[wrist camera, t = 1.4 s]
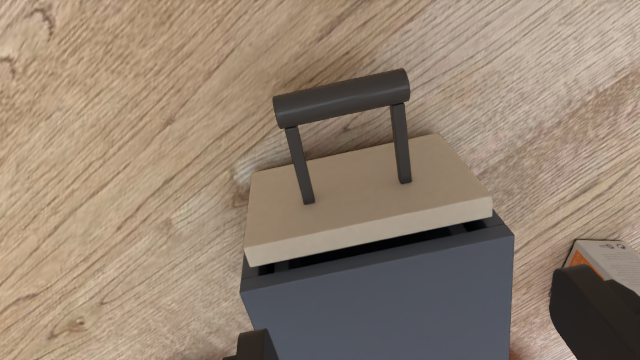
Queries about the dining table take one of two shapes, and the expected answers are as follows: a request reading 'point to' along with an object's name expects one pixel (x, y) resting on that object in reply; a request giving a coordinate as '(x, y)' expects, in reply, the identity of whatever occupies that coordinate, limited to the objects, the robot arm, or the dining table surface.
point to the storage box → (393, 301)
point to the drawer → (357, 184)
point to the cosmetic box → (608, 261)
